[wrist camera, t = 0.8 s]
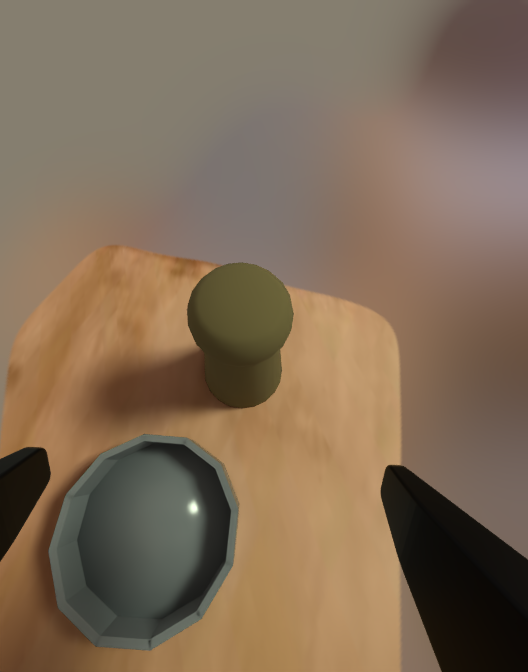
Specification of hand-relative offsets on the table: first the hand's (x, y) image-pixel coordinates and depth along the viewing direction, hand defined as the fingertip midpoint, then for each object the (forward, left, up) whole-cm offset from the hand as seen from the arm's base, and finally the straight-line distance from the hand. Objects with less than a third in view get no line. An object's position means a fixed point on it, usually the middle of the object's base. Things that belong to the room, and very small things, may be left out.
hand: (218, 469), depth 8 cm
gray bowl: (-1, +6, -14) cm, 15 cm away
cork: (+6, -3, -14) cm, 16 cm away
